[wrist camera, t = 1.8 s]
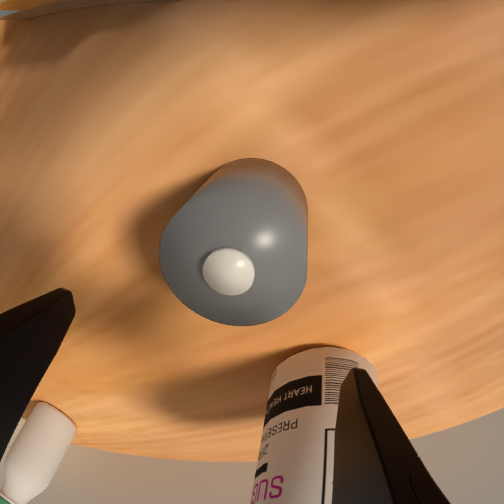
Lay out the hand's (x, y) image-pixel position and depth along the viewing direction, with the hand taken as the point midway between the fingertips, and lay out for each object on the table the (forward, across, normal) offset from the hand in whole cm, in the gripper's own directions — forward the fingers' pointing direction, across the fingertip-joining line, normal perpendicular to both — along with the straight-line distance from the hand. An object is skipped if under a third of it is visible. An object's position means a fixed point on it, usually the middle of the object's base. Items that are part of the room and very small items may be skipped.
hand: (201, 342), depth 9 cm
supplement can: (+10, -8, +12) cm, 18 cm away
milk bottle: (+10, +24, +40) cm, 48 cm away
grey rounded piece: (+10, 0, 0) cm, 10 cm away
